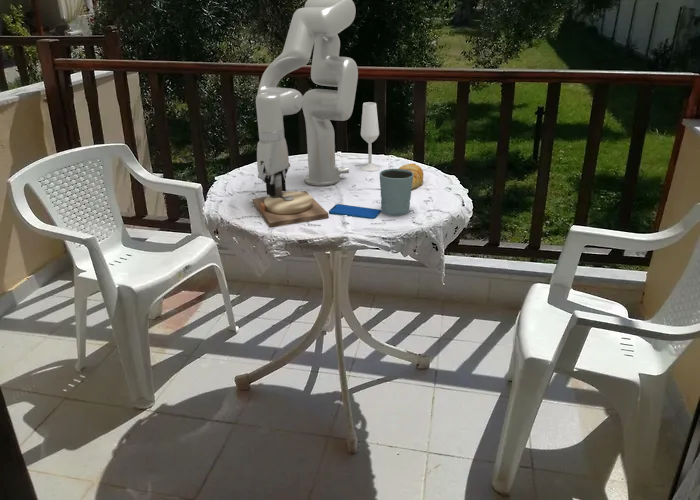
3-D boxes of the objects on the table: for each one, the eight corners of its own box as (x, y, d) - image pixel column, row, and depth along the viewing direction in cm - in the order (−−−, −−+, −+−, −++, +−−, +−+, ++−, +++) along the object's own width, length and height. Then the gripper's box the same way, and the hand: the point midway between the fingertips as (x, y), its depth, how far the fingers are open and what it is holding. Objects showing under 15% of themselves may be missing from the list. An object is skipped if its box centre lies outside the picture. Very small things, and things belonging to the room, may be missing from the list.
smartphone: (374, 218, 176) (327, 211, 180) (374, 221, 176) (327, 214, 181) (382, 209, 182) (336, 203, 187) (381, 212, 182) (336, 206, 187)
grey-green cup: (373, 208, 184) (373, 171, 179) (400, 202, 188) (401, 166, 183) (391, 219, 176) (391, 180, 171) (419, 212, 180) (420, 174, 175)
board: (306, 195, 196) (305, 185, 195) (328, 217, 178) (328, 207, 176) (252, 203, 190) (251, 193, 189) (270, 227, 172) (269, 216, 170)
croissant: (411, 203, 197) (423, 184, 193) (385, 188, 197) (396, 169, 193) (421, 182, 215) (432, 164, 211) (397, 168, 215) (408, 150, 211)
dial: (323, 203, 184) (322, 176, 180) (288, 217, 174) (286, 189, 170) (289, 193, 193) (287, 167, 189) (254, 206, 182) (251, 179, 179)
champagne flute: (360, 166, 224) (359, 102, 214) (377, 165, 225) (377, 101, 215) (362, 171, 218) (361, 105, 208) (380, 170, 219) (380, 105, 209)
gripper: (280, 127, 185) (284, 183, 193) (243, 140, 173) (249, 199, 181) (298, 130, 182) (302, 187, 189) (262, 143, 169) (267, 203, 177)
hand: (276, 192), depth 185 cm, fingers closed on dial, 4 cm apart
